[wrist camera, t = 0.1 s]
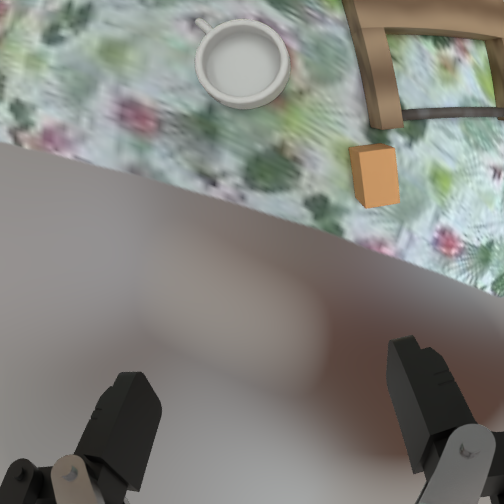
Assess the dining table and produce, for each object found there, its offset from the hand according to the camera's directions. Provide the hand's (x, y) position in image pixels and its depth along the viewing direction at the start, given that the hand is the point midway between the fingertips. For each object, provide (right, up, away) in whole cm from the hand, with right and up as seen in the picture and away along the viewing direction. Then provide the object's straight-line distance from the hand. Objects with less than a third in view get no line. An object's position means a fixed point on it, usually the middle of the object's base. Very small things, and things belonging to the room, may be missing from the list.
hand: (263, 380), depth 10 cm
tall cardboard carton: (+13, +14, +25) cm, 32 cm away
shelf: (+22, +28, +18) cm, 40 cm away
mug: (-2, +25, +21) cm, 33 cm away
